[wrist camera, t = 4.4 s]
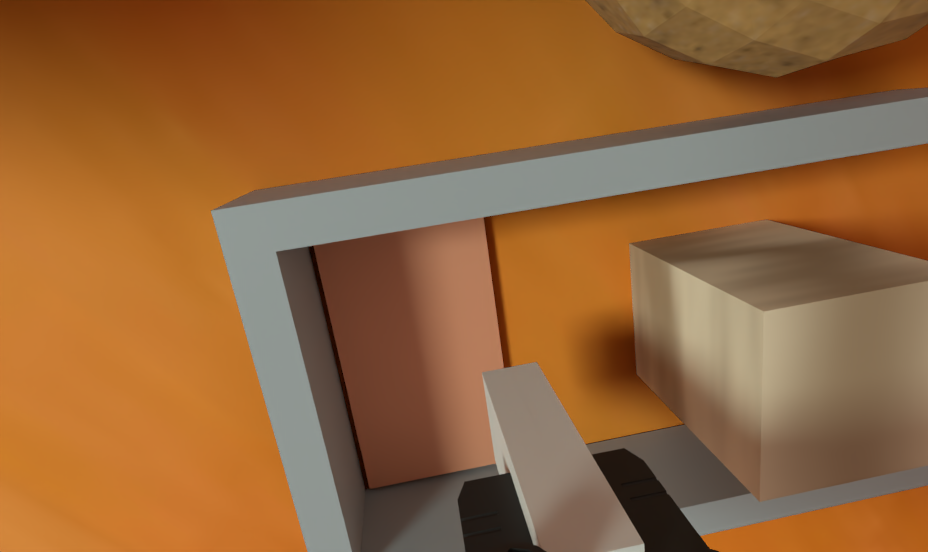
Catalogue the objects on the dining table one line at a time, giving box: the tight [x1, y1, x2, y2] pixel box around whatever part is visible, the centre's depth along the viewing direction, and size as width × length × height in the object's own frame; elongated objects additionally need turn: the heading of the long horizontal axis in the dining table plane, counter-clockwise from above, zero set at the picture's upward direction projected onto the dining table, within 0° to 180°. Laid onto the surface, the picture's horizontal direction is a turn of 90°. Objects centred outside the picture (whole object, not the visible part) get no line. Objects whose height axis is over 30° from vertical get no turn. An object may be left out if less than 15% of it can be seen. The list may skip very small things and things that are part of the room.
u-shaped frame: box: [211, 88, 928, 552], centre depth 17 cm, size 21×12×4 cm, turn 98°
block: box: [629, 220, 928, 502], centre depth 16 cm, size 5×5×7 cm
